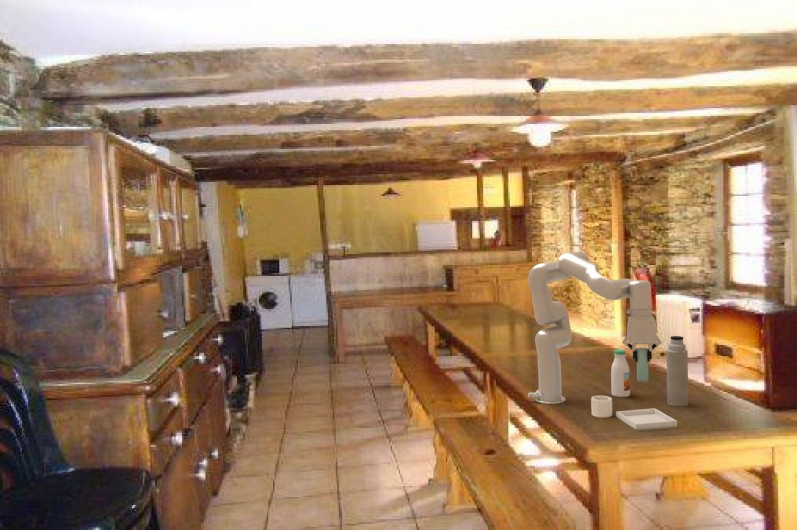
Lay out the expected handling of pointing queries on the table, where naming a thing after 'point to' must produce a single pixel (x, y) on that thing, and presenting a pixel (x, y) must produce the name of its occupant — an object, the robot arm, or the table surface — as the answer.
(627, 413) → the tray
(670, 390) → the thermos bottle
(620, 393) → the milk bottle
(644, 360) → the peg
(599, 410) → the cup
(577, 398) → the table surface
